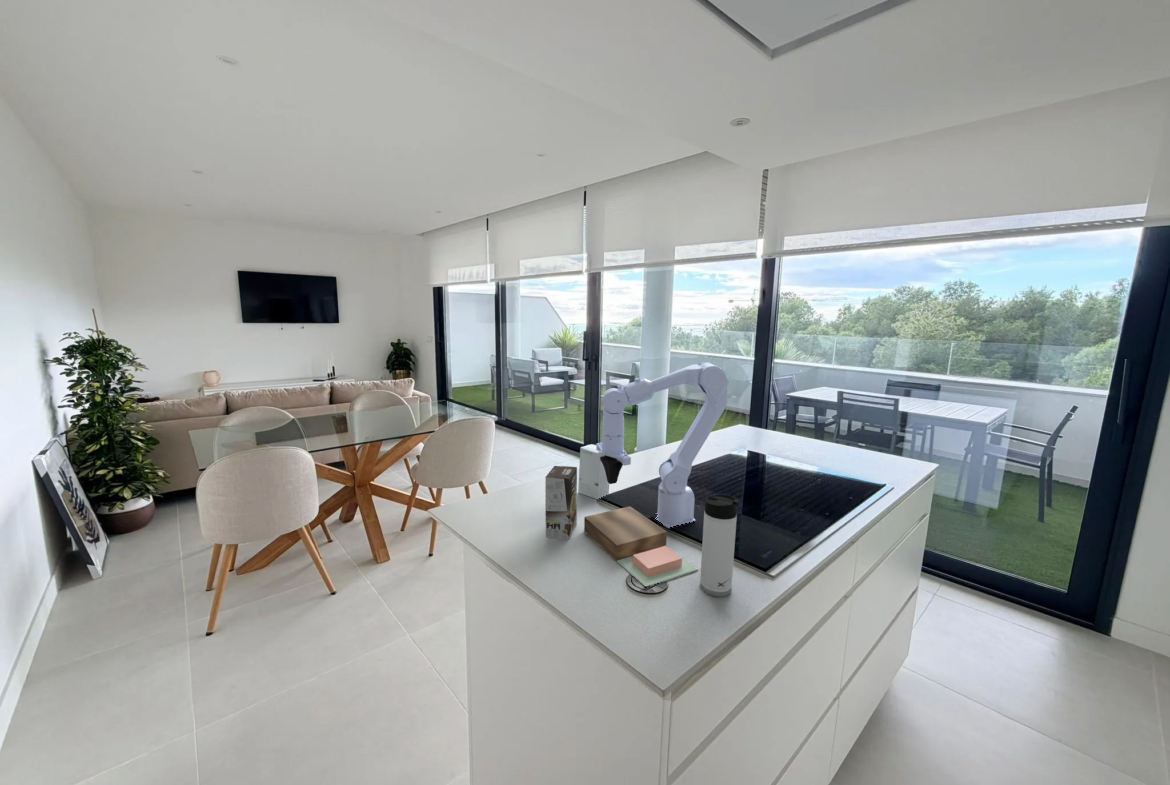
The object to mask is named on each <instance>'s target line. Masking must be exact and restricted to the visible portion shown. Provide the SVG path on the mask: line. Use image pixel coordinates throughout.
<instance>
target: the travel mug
mask: <svg viewBox="0 0 1170 785" xmlns="http://www.w3.org/2000/svg"><path fill="white" fill-rule="evenodd" d="M740 504H741V503H740V499H739V498H736V497H735V496H732V495H729V494H712V495H710V496H708V497H707V498H706V499H705V500H704V512H703V528H702V543H701V544H702V546H701V547H702V548H701V562H700V563H701V564H700V580H699V587H700V588H701V590H702V591H703V592H704V593H706V594H707V595H710V596H712V597H720V598H722V597H726V596H728V595H730V594H731V593H732V586H733V575H734V574H733V573H734V559H735V558H734V557H735V546H736V545H735V544H736V533H737V517H738V516H737V513H738V512H737V511H738V506H739V505H740Z"/></svg>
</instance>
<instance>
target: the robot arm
mask: <svg viewBox="0 0 1170 785" xmlns="http://www.w3.org/2000/svg"><path fill="white" fill-rule="evenodd" d="M681 385H689V386H694V387H699V388H700V389H701V392H702V395H703V397H704V403H703V405H702V406H701V408H700V410H699V411H698V413H697V415H696V417H695V418H694V420H693V422H692V423H691V425H690V427H689V428H688V430H687V431H686V433H685V435H684V436H683V438H682V440H681V442H680V443H679V445H678V446H677V448H676V450H675V451H674V452H672V453H671V454H670V455H669V457H668V458H667V459H666V460H665V461H663V462H662V463H661V464H660V465H659V468H658V475H659V477H660V479H661V481H660V483H659V484H658V492H657V513H656V514H658V515H657V517H658V518H657V517H656V518H657V519H656V518H655V519H656V520H658V521H659V522H661V523H662V524H663V527H665V528H667V529H671V528H670V527H672V528H674V527H673V526H676V525H679V526H682V525H681V524H683V525H686V524H685V523H687V524H690V523H693V521H694V522H696V518H694V514H695V495H694V491H693V490H692V488H691V487H690V486H688V479H689V476H690V475H691V472H692V465H693V462H694V460H695V459H696V457H697V455H698V454H699V453H700V451H701V449H702V448H703V445H704V444H705V442H706V441H707V439H708V437H709V436H710V434H711V432H712V430H713V429H714V427H715V425H716V424H717V423H718V421H719V419H720V418H721V416H722V414H723V413H724V411H725V409H726V407H727V405H728V385H729V380H728V378H727V375H726V373H725V371H724V369H723V368H721V367H719V366H717V365H715V364H713V363H712V362H708V361H702V362H699V363H698V364H697V363H694V364H691V365H687V366H685V367H682V368H680V369H677V370H674V371H673V372H670V373H667V374H665V375H662V376H660V377H657V378H655V379H652V380H649V379H647V378H645V377H643V378H640V377H636V378H634V381H632V382H629V383H626V384H624V385H621V384H619V385H616V386H617V388H615V387H612V388H608V389H606V391H605V392H604V393H603V396H602V398H601V400H602V406H603V410H602V415H603V416H602V430H601V431H602V432H601V433H602V434H601V436H602V437H601V442H598V443H596V444H595V445H596V450H598V453H599V454H600V455H604V456H602V457H600V460H601V462H602V464H603V466H604V469H605V473H606V477H607V481H608V483H609V485H612V484H617V482H618V479H619V475H620V472H621V470H622V468H623V466H624V467H625V466H629V465H632V464H631V463H632V457H631V456H630V455H628V453H627V452H626V450H625V449H624V447H625V444H624V442H625V417H624V410H625V408H626V407H631V406H634V405H637V404H641V403H644V402H647V401H649V400H652V398H653V396H654V395H655V393H657V392H658V393H659V392H660V391H664V390H668V389H671V388H675V387H678V386H681ZM655 519H654V520H655ZM656 520H655V521H656ZM658 521H657V522H658ZM659 522H658V523H659ZM689 522H690V523H689ZM661 523H660V524H661ZM662 524H661V525H662ZM676 527H677V526H676Z"/></svg>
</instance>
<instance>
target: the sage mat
mask: <svg viewBox="0 0 1170 785" xmlns="http://www.w3.org/2000/svg"><path fill="white" fill-rule="evenodd" d="M666 547H668V548H669V549H670V550H672V551H673V552H674V553H676V554H677V555H678V556H680V557H681V558H682V567H678V568H675V569H672V570H669V571H666V572H663V573H660V574H656V575H653V576H650V577H648V576H647V575H645V574H644V573H643V572H642V571H641V570H640V569H639V568H638V567H636V566H635V565H634V564H633V556H631V557H628V558H624V559H621V560H618V561H617V563H618V564H619V565H620V566H621V567H622V568H624V569H625V571H627V573H629V575H630V576H632V577H633V576H634V577H635V578H636V579H638V580H639V581H640V582H641V583H642V584H643V585H645V586H649V585H653V584H656V585H658V584H657V583H659V584H662V583H665V582H668V581H671V580H674V579H677V578H681V577H684V576H686V575H688V574H692V573H695V572H698V571H699V568H697V567H696V566H694V565H693V564H692V563H691V562H689V561H688V560H687V559H685V558H684V557H682V556H681V555H680V554H679V553H677V552H676V551H675V550H673V549H672V548H670V547H669V546H667V545H666ZM634 577H633V578H634ZM635 578H634V579H635ZM636 579H635V580H636ZM639 581H638V582H639ZM640 582H639V583H640ZM661 582H662V583H661ZM641 583H640V584H641ZM642 584H641V585H642ZM643 585H642V586H643ZM653 586H654V585H653Z"/></svg>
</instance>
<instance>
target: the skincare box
mask: <svg viewBox="0 0 1170 785" xmlns="http://www.w3.org/2000/svg"><path fill="white" fill-rule="evenodd" d="M579 448H580V449H579V450H580V451H579V466H578V467H579V469H578V483H577V494H580V495H584V496H587V497H590V498H593V499H595V500H600V499H602V498H604V497H606V495H607V496H609V495H608V494H610V484H609V483H608V481H607V477H606V473H605V469H604V466H603V464H602V462H601V460H600V457H602V456H604V455H600V454H599V453H598V450H596V444H587V445H584V446H581V447H579ZM603 496H604V497H603ZM601 497H602V498H601ZM599 498H600V499H599Z"/></svg>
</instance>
